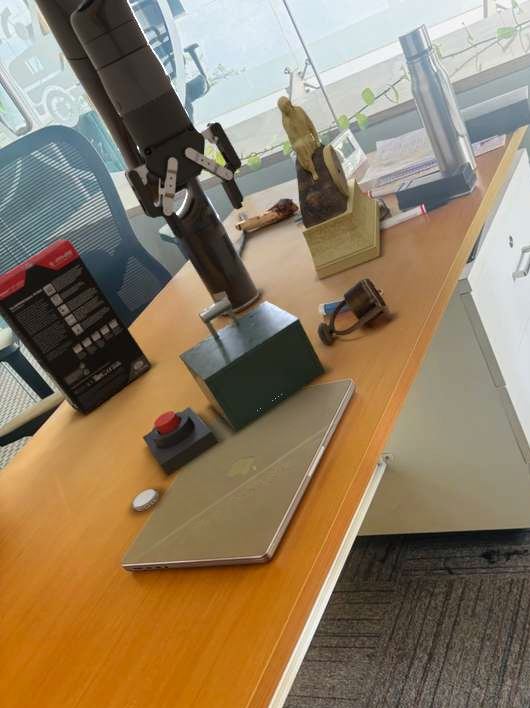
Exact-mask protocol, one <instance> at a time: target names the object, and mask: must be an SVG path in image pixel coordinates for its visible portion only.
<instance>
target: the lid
mask: <svg viewBox="0 0 530 708" xmlns="http://www.w3.org/2000/svg"><path fill="white" fill-rule="evenodd" d="M226 311H228V313H229V315H228V316H229V317H230V318H231V321H232V322H230V323H228V324H227V325H225V326H224V327H222V328H220V329H219V330H218V331H216V329H215V327H214V326H213V324H212V321H213V320H215V319H216V318H218V317H219V316H222V315H221V314H223V313H224V312H226ZM198 317H199V318H200V320H201V321H202V322H203V324H204V325H206V327H207V329H208V331H209V332H210V333H211V335H210V336H208V337H206V338H205V339H203V340H201V341H200V342H199V343H197V344H196V345H194V346H192V347H191V348H189V349H187V350H186V351H184V352H182V353H181V354H179V355H178V357H179V358H180V360H181V361H182V362H183V364H184V363H185V364H186V365H187V366H188V367H189V368H190V369H191V370H192V371H193V372H194V373H195V374H196V375H197V376H198V377H199V378H200V379H201V380H202V381H203V382H204V383H205V384H208V383H209V382H211V381H212V380H214V379H215V378H217V377H218V376H220V375H222V374H223V373H225V372H226V371H228V370H229V369H231V368H232V367H234V366H235V365H237V364H239V363H240V362H242V361H243V360H245V359H246V358H248V357H249V356H251V355H252V354H254V353H256V352H257V351H259V350H260V349H262V348H263V347H265V346H266V345H268V344H269V343H271V342H273V341H274V340H276V339H277V338H279V337H280V336H282V335H283V334H285V333H286V332H288V331H290V330H291V329H293V328H294V327H296V326H297V325H299V324H300V323H301V324H302V322H301V319H300V318H298V317H296V316H295V315H293V314H291V313H289V312H287V311H286V310H284V309H282V308H280V307H278V306H276V305H274V304H273V303H271V302H269V301H268V300H265V301H264V302H261V303H260V304H259V305H256V306H255V307H254V308H252V309H251V310H249V311H247V312H246V313H244V314H243V315H241V316H240V317H237V316H236V313H234V312H233V310H232V305H231V303H230V302H229V300H228V299H227V298H226V297H225V298H223V299H222V300H220V301H219V302H217V303H214V304H212V305H211V306H209V307H207V308H205V309H204V310H202V311H201V312H200V313H198ZM185 364H184V365H185ZM186 365H185V366H186Z"/></svg>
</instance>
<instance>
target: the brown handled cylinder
mask: <svg viewBox="0 0 530 708" xmlns="http://www.w3.org/2000/svg"><path fill="white" fill-rule="evenodd" d="M375 286H376V285H375V284H374V283H373V282H372V281H371V280H370V278H366V277H363V278H361V279H360V280H359V281H358V282H356V283H355V284H354V285H353V286H352V287H350V288H349V289H348V290H347V291H346V292H344V293H343V299H342V300H341V301H340V302H339V303H338V304H337V305H336V307H335V308H334V310H333V311H332V313H331V314H330V316H329V317H330V318H329V324H327V323H326V322H324V321H322V322H320V323H319V325H318V328H317V334H318V338H319V339H320V340H321V342H323V343H324V344H327V345H330V344H332V343H333V342H334V337H333V334H335V335H336V336H341V337H342V336H343V337H344V336H347V335H351V334H353V333H354V332H355V331H357V330H359V329H360V328H361V327H362V326H366V327H368V326H369V325H370V324H372V323H373V322H374V321H376V320H377V319H379V317H381V316H382V315H383V314H384V315H385V316H386V318H388V319H392V314H391V312H390V310H389V307H388V305H387V303H386V302H385V299H384V298H383V296H382V295H381V294H380V292H379V291H378V289H377V288H376V287H375ZM346 305H347V307H348V308H349V310H350V311H351V313H352V314H353V315H354V316H355V317H356V319H357V320H358V321H356V322H355V323H354V324H353V325H351V326H350V327H348V328H346V329H344V330H337V329H336V326H335V322H336V318H337V316H338V315H339V313H340V312H341V310H342V309H343V308H344V307H345V306H346Z"/></svg>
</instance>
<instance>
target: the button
mask: <svg viewBox="0 0 530 708" xmlns="http://www.w3.org/2000/svg"><path fill="white" fill-rule="evenodd" d="M175 413H176V412H175V411H172V410H171V411H167V412H164V413H162V414H161V415H159V416H158V417H157V418H156V419H155V420H154V422H153V426H154V427H156V428H157V429H158V431H159V432H160V434H165V433H168V432H170V431H172V430H173V429H175V428H176V427H177V426H178V425H179V424H180V422H181V421H180V419H179V418H178V416H177V415H176V414H175Z"/></svg>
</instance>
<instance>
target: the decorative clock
mask: <svg viewBox="0 0 530 708" xmlns="http://www.w3.org/2000/svg"><path fill="white" fill-rule="evenodd" d="M276 103H277V104H276V105H277V107H278V109H279V111H280V114H281V124H282V127H283V129H284V131H285V133H286V135H287V138H288V140H289V143H290V145H291V149H292V151H293V152H294V154H295V161H294V166H295V174H296V181H297V191H298V204H299V205H298V206H299V211H300V217H301V222H302V225H303V227H302V232H301V233H302V235H303V237H304V239H305V241H306V245H307V247H308V249H309V252H310V255H311V258H312V261H313V265H314V269H315V272H316V274H317V276H318V278H319V280H322V279H324V278H327V277H330V276H332V275H335V274H338V273H340V272H342V271H345V270H348V269H350V268H352V267H355V266H358V265H361V264H363V263H366V262H368V261H370V260H373V259H375V258H379V257H380V256H381V255H380V253H381V251H380V249H381V247H380V246H381V245H380V243H381V239H380V238H381V237H380V235H381V228H380V227H381V223H380V222H381V220H380V219H381V211H380V210H381V207H380V204H379V202H378V200H377V198H373V197H371V196H369V195H367V194H366V193H365V192H363V190H362V189H361V187H360V186H359V184H358V182H357V179H356V177H353V178H350V179H348V180H347V177H346V173H345V171H344V168H343V165H342V163H341V160H340V158H339V156H338V153H337V152H336V150H335V147H334V146H333V145H332V144H328V145H326V144H324V143H323V142H321V141H320V139H319V135H318V132H317V130H316V129H317V128H316V126H315V125H314V123H313V120H312V119H311V118H310V117H309V115H308V114H307V112H306V111H305V110H304V108H303V107H302V106H299V105H293V103H292V100H291V99H289V98H288V97H287V96H284V95H282V96H280V97H279V98H278V100H277V101H276Z"/></svg>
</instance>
